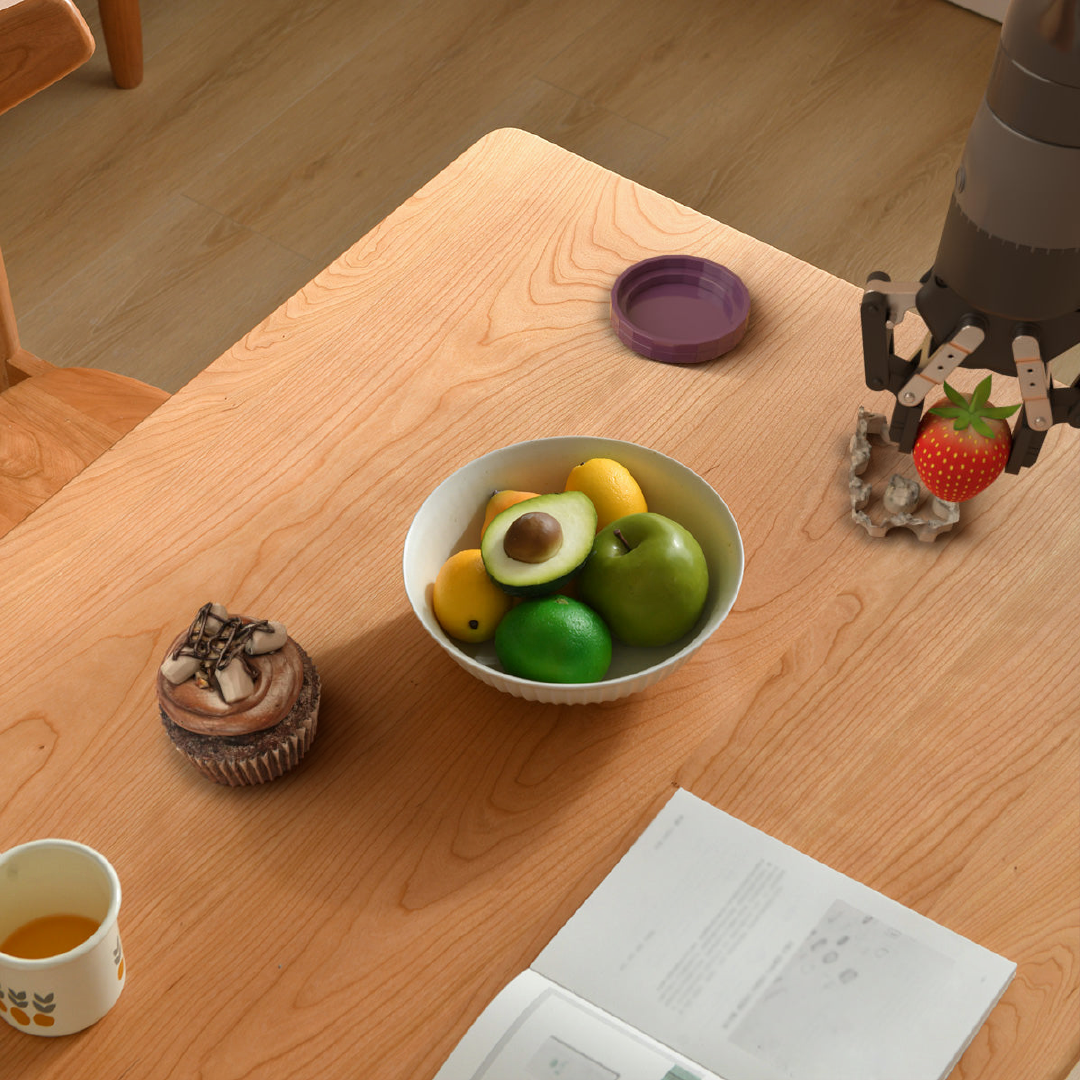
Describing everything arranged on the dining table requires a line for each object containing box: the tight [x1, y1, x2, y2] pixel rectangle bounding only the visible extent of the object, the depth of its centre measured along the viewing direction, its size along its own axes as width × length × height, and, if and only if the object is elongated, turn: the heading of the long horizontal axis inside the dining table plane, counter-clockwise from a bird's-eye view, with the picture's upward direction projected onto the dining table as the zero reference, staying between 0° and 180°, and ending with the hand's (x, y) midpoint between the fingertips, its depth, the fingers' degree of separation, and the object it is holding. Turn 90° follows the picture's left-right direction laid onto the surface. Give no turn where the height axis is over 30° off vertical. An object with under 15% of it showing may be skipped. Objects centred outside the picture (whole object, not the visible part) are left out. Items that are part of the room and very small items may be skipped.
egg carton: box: [848, 405, 961, 543], centre depth 95 cm, size 11×8×4 cm
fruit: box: [911, 373, 1023, 503], centre depth 74 cm, size 5×5×8 cm
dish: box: [609, 254, 752, 364], centre depth 108 cm, size 11×11×3 cm
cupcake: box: [154, 601, 322, 787], centre depth 80 cm, size 10×10×10 cm
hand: (958, 452), depth 74 cm, fingers closed on fruit, 5 cm apart
